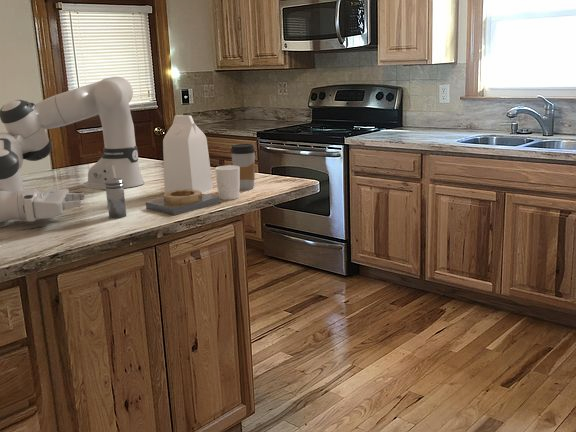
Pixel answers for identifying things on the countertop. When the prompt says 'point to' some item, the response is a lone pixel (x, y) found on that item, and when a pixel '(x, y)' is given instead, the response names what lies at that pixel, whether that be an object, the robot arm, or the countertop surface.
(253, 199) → the countertop surface
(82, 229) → the countertop surface
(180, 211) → the ring block
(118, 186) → the salt shaker
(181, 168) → the milk
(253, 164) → the coffee cup
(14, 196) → the robot arm
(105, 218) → the countertop surface
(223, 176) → the white cup
